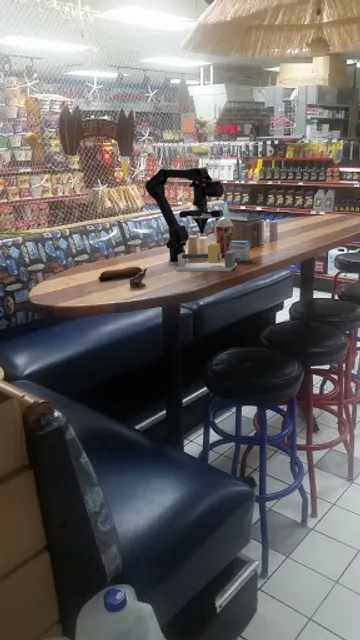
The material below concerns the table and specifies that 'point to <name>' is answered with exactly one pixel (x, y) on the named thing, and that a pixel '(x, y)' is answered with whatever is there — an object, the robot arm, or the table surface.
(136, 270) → the sweet potato
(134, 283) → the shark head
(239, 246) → the medicine box
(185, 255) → the cord rig
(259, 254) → the table surface
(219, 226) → the smoothie
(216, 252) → the sleeve
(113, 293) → the table surface
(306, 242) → the table surface
